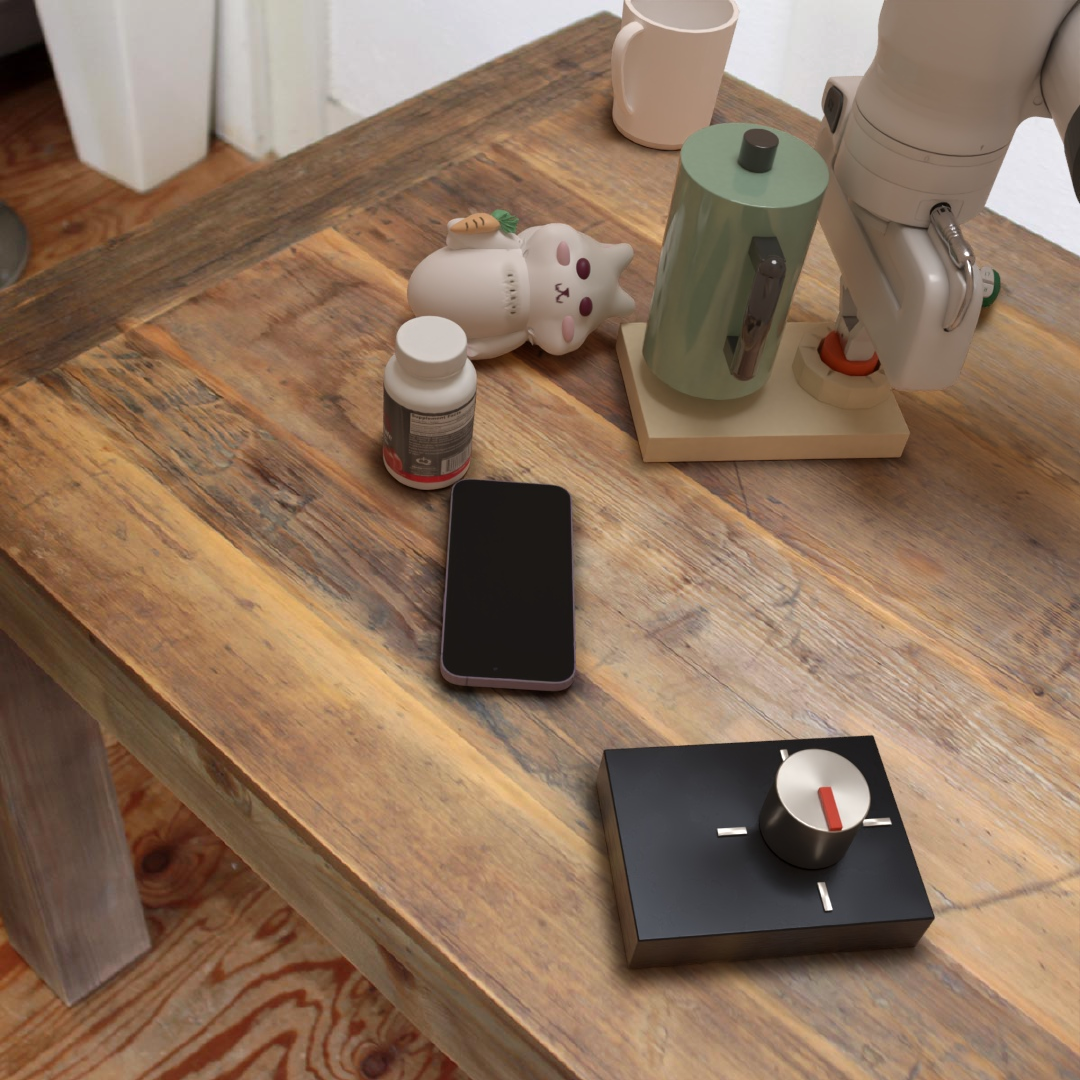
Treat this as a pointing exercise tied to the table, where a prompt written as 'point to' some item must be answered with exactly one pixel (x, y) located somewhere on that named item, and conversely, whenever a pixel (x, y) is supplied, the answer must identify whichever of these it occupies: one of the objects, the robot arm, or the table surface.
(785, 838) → the knob
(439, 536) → the table surface
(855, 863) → the dial panel
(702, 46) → the mug
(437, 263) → the cat figurine
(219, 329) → the table surface
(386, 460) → the pill bottle
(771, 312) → the kettle
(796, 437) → the kettle base
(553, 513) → the smartphone
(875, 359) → the button
